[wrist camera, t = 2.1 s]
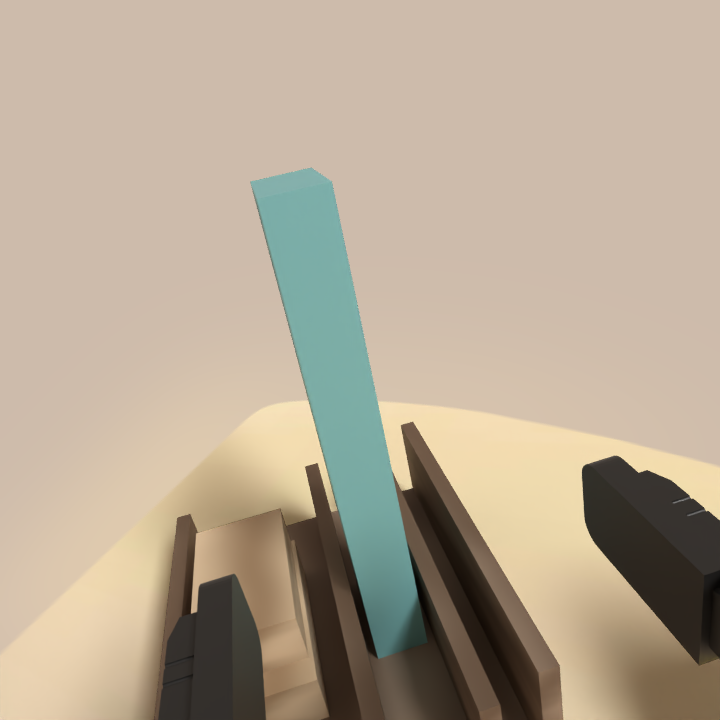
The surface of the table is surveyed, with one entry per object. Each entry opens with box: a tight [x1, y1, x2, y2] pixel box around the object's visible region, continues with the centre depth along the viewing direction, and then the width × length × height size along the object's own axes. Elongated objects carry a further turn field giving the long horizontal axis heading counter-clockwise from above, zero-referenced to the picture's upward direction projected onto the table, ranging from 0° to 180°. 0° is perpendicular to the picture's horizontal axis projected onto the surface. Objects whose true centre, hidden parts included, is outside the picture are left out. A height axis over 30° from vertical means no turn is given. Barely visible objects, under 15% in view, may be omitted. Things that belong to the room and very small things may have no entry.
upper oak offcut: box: [191, 509, 309, 672], centre depth 29 cm, size 5×8×2 cm, turn 12°
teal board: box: [251, 168, 428, 659], centre depth 26 cm, size 2×5×22 cm, turn 12°
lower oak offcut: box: [263, 540, 330, 720], centre depth 29 cm, size 5×9×2 cm, turn 12°
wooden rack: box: [154, 422, 563, 720], centre depth 29 cm, size 16×18×6 cm
